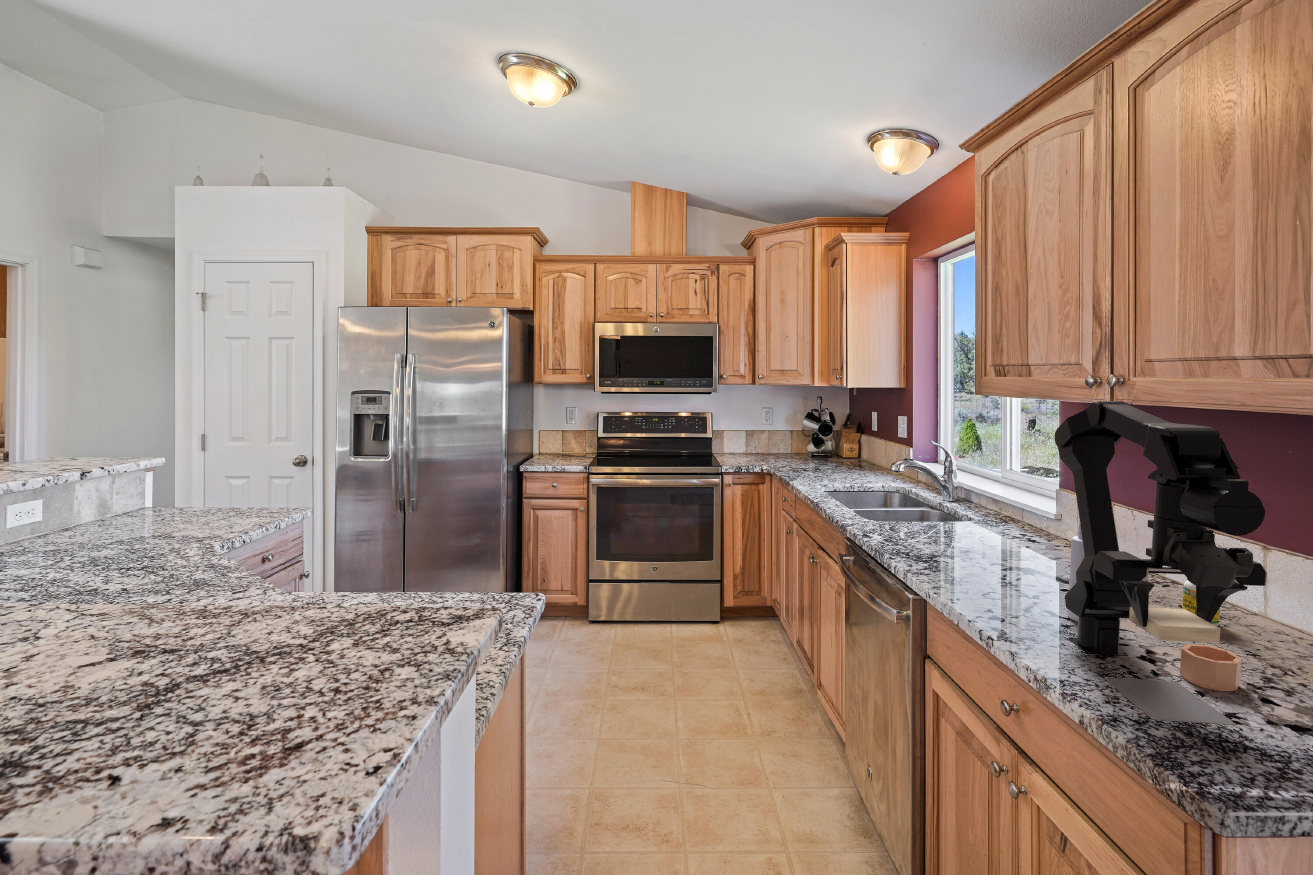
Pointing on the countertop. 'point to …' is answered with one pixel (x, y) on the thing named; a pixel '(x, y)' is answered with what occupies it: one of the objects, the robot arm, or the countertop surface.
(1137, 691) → the mat
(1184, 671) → the bowl
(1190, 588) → the supplement bottle
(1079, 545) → the spray bottle
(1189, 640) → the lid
